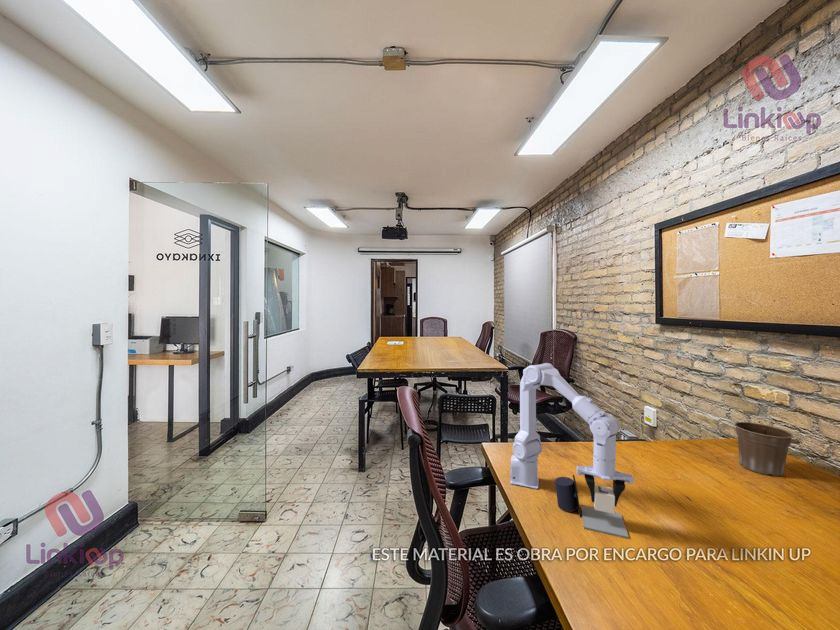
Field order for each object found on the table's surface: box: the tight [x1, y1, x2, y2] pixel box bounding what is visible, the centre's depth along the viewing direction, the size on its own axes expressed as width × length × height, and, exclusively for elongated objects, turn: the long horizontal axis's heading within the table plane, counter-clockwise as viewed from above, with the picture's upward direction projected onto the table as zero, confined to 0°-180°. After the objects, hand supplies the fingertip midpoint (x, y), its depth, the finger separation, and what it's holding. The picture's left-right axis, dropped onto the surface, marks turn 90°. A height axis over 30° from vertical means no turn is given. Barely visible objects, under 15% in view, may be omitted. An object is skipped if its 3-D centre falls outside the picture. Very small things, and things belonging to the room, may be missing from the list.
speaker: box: [554, 474, 582, 518], centre depth 104 cm, size 8×6×10 cm
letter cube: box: [592, 484, 616, 514], centre depth 97 cm, size 5×5×5 cm
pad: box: [580, 505, 630, 539], centre depth 97 cm, size 11×11×1 cm
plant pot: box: [734, 421, 795, 477], centre depth 130 cm, size 16×16×16 cm
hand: (603, 502), depth 97 cm, fingers closed on letter cube, 5 cm apart
